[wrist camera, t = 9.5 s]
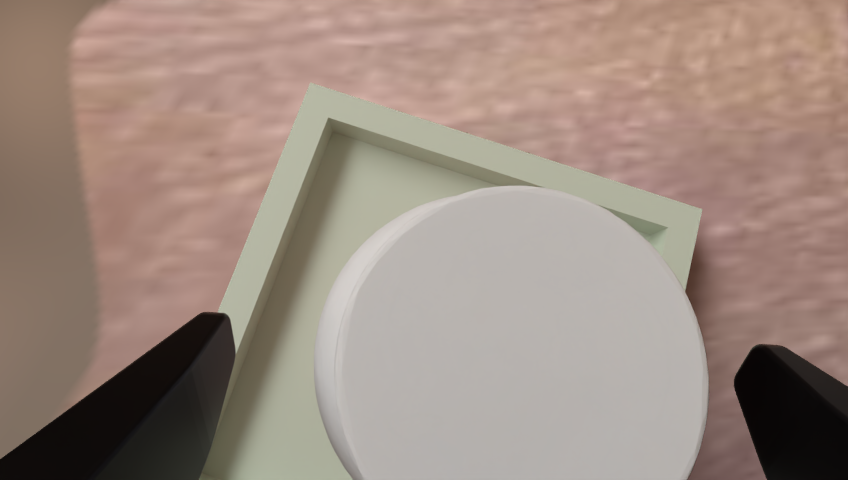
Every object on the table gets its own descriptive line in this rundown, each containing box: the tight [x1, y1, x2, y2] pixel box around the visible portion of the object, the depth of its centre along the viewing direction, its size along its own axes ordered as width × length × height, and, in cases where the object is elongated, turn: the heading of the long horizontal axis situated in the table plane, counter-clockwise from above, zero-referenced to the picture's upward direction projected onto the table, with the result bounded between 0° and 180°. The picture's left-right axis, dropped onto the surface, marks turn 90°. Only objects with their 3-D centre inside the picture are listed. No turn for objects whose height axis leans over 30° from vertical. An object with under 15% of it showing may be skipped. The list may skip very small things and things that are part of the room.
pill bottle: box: [314, 186, 709, 480], centre depth 11 cm, size 6×6×11 cm
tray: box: [199, 83, 702, 480], centre depth 17 cm, size 14×14×2 cm
